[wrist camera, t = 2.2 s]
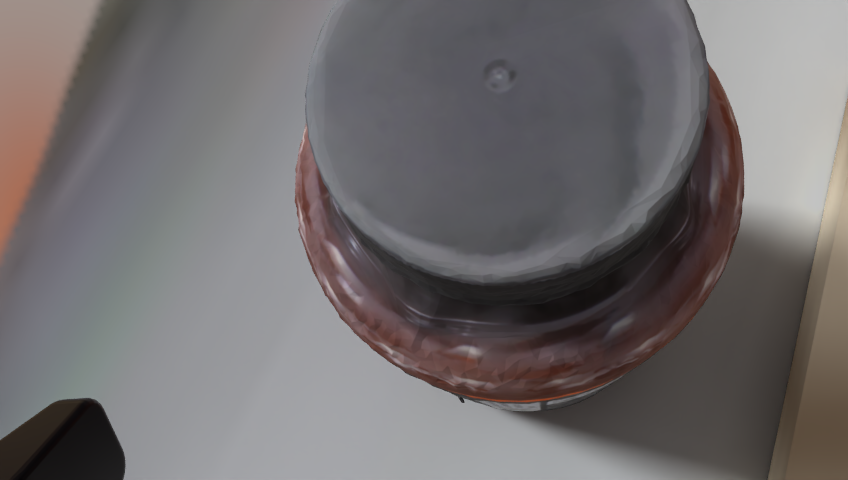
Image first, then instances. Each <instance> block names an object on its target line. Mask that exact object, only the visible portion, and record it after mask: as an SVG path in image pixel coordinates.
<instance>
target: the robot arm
mask: <svg viewBox="0 0 848 480" xmlns="http://www.w3.org/2000/svg"><path fill="white" fill-rule="evenodd" d="M124 474H125V456H124V452H123V449H122V447H121V445H120V443H119V441H118V438H117V436H116V434H115V432H114V430H113V428H112V426H111V424H110V421H109V419H108V417H107V415H106V413H105V411H104V409H103V407H102V405H101V404H100V403H99V402H98V401H96V400H95V399H91V398H81V399H65V400H59V401H56V402H54V403H52V404H51V405H49V406H48V407H46V408H45V409H43V410H42V411H41V412H39V413H38V414H36V415H35V416H34V417H32V418H31V419H29V420H28V421H27V422H25V423H24V424H22V425H21V426H19V427H18V428H17V429H15V430H14V431H12V432H11V433H10V434H8V435H7V436H5V437H4V438H3V439H1V440H0V480H123V479H124Z"/></svg>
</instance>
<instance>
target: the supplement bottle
mask: <svg viewBox="0 0 848 480" xmlns="http://www.w3.org/2000/svg"><path fill="white" fill-rule="evenodd" d="M305 97H306V108H305V111H306V126H305V130H304V133H303V139H302V142H301V145H300V149H299V154H298V161H297V165H296V183H295V184H296V187H295V194H296V195H295V203H296V207H297V216H298V220H299V229H298V230H299V233H300V236H301V238H302V241H303V244H304V247H305V250H306V253H307V256H308V259H309V262H310V264H311V266H312V269H313V272H314V274H315V276H316V277H317V279H318V281H319V283H320V285H321V287H322V289H323V291H324V293H325V296H327V297H328V299H329V300H330V302H331V303H332V305H333V306H334V307H335V309H336V311H337V312H338V314H339V316H340V318H341V319H342V320H343V321H344V322H345V323H346V324H347V325H348V326H349V327H350V328H351V329H352V330H353V332H354V333H355V334H356V335H357V336H359V337H360V338H361V339H362V340H363V341H364V342H366V343H367V344H368V345H369V346H370V347H371V348H372V349H373V350H374V351H376V352H377V353H378V354H380V355H381V356H382V357H384V358H385V359H387V360H388V361H389V362H390V363H392V364H394V365H395V366H397V367H399V368H401V369H402V370H403V371H404V372H405V373H407V374H409V375H411V376H413V377H416V378H419V379H421V380H424V381H426V382H427V383H429V384H431V385H432V386H434V387H437V388H440V389H443V390H444V391H448V392H450V393H452V394H454V395H456V396H458V398H459V399H460V401H461V402H462V403H465V402H464V400H463V398H465V399H468V400H472V401H474V402H477V403H481V404H485V405H488V406H490V407H494V408H500V409H506V410H513V411H537V410H538V411H542V410H551V409H556V408H562V407H566V406H569V405H572V404H575V403H578V402H580V401H582V400H584V399H586V398H589V397H591V396H593V395H595V394H596V393H597V392H599V391H601V390H603V389H604V388H606V387H607V386H609V385H610V384H612V383H613V382H615V381H616V380H618V379H619V378H620V377H622V376H624V375H625V374H627V373H628V372H630V371H631V370H633V369H634V368H636V367H637V366H639V365H640V364H642V363H643V362H645V361H646V360H648V359H649V358H650V357H651V356H652V355H653V354H655V353H656V352H657V351H659V350H660V349H661V348H662V347H664V346H665V345H666V344H667V343H669V342H670V341H671V340H672V339H674V338H675V337H676V336H677V335H678V334H679V333H680V332H681V331H682V330H683V329H684V327H685V326H686V325H687V324H688V323H689V322H690V321H691V320H692V318H693V317H694V316H695V314H696V313H697V312H698V310H699V309H700V308H701V306H702V305H703V304H704V302H705V301H706V300H707V298H708V296H709V295H710V293H711V291H712V290H713V288H714V287H715V285H716V283H717V282H718V280H719V278H720V276H721V275H722V273H723V271H724V269H725V266H726V264H727V261H728V259H729V257H730V254H731V251H732V248H733V245H734V242H735V239H736V236H737V233H738V230H739V226H740V219H741V215H742V202H743V198H744V162H743V154H742V144H741V138H740V135H739V131H738V126H737V122H736V119H735V116H734V113H733V110H732V107H731V105H730V103H729V100H728V98H727V96H726V93H725V91H724V89H723V87H722V85H721V83H720V81H719V79H718V77H717V75H716V74H715V72H714V71H713V69H712V68H711V67H710V65H709V63H708V62H707V59H706V50H705V45H704V43H703V40H702V38H701V35H700V33H699V30H698V28H697V24H696V21H695V17H694V14H693V12H692V10H691V8H690V6H689V4H688V2H687V0H338V2H337V3H336V4H335V6H334V7H333V8H332V10H331V11H330V13H329V15H328V17H327V19H326V21H325V23H324V25H323V27H322V29H321V32H320V34H319V37H318V40H317V43H316V46H315V49H314V52H313V55H312V58H311V62H310V65H309V73H308V81H307V87H306V93H305Z"/></svg>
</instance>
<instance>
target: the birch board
mask: <svg viewBox="0 0 848 480" xmlns="http://www.w3.org/2000/svg"><path fill="white" fill-rule="evenodd" d="M768 480H848V98H847V103H846V108H845V112H844V117H843V122H842V127H841V131H840V136H839V141H838V146H837V151H836V155H835V160H834V165H833V170H832V174H831V179H830V184H829V189H828V194H827V198H826V203H825V208H824V213H823V217H822V222H821V227H820V232H819V236H818V241H817V246H816V251H815V256H814V260H813V265H812V270H811V275H810V279H809V284H808V289H807V294H806V299H805V303H804V308H803V313H802V318H801V322H800V327H799V332H798V337H797V342H796V346H795V351H794V356H793V361H792V365H791V370H790V375H789V380H788V384H787V389H786V394H785V399H784V404H783V408H782V413H781V418H780V423H779V427H778V432H777V437H776V442H775V447H774V451H773V456H772V461H771V466H770V470H769V475H768Z"/></svg>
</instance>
